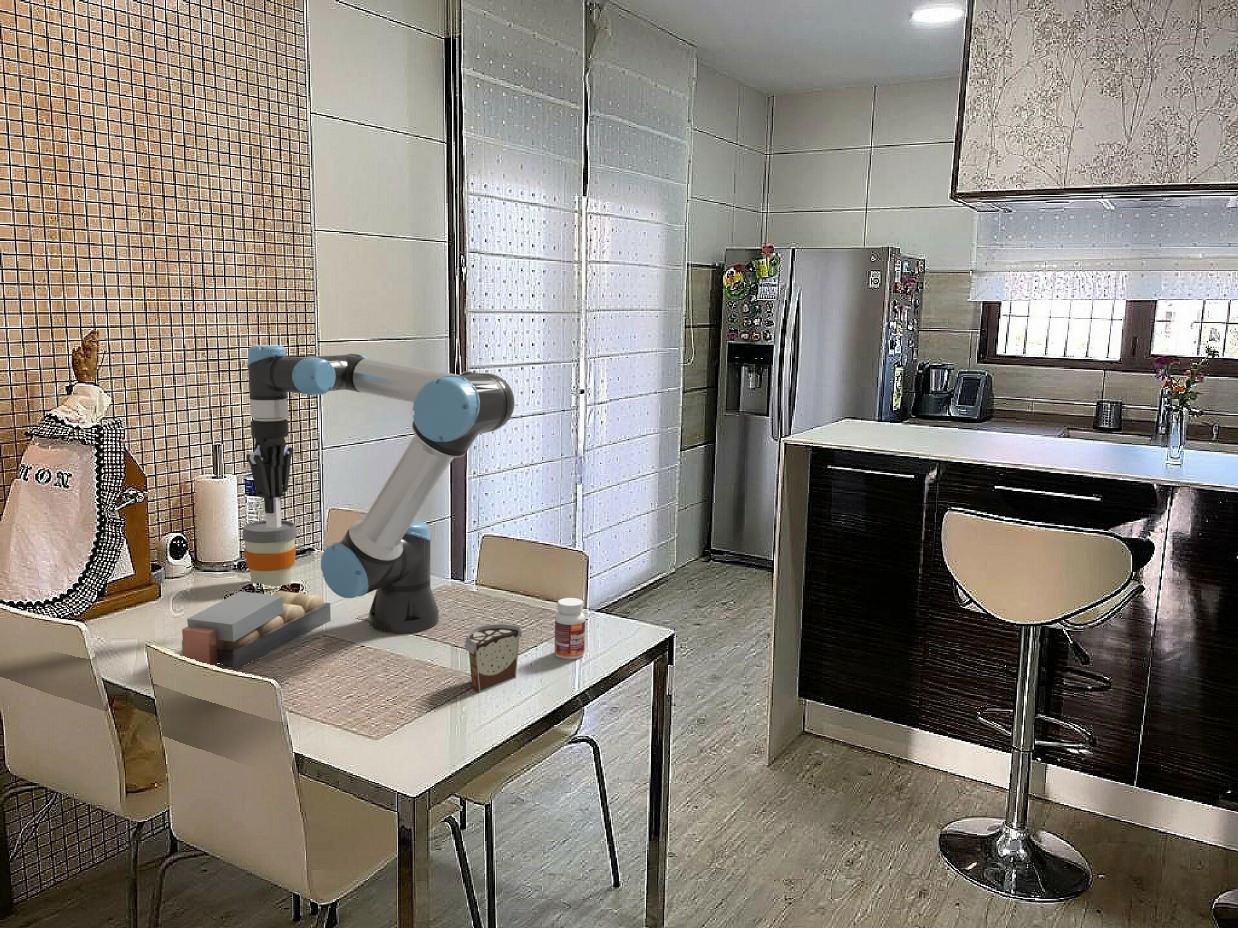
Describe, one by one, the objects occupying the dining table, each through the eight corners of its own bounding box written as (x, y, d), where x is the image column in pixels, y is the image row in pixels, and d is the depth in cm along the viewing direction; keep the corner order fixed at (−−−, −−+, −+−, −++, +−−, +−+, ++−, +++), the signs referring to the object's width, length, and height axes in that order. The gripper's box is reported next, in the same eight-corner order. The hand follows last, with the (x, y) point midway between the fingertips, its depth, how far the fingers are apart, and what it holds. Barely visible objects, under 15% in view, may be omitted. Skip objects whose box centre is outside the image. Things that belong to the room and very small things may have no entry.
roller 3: (325, 616, 207) (323, 591, 206) (309, 627, 202) (306, 602, 200) (287, 611, 210) (284, 586, 208) (270, 622, 204) (267, 596, 203)
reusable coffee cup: (297, 575, 239) (295, 518, 236) (299, 589, 227) (297, 530, 225) (244, 579, 234) (242, 521, 232) (244, 594, 223) (241, 533, 220)
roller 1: (264, 635, 187) (248, 624, 182) (252, 664, 184) (236, 653, 179) (225, 630, 190) (209, 619, 185) (213, 658, 187) (197, 648, 182)
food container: (499, 667, 183) (499, 618, 181) (521, 675, 179) (521, 626, 177) (450, 685, 173) (450, 634, 172) (473, 695, 170) (473, 643, 168)
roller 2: (285, 636, 194) (282, 610, 192) (267, 650, 189) (263, 623, 187) (245, 630, 197) (241, 605, 195) (226, 643, 191) (222, 617, 190)
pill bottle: (574, 662, 186) (575, 608, 184) (548, 656, 189) (549, 602, 187) (590, 653, 191) (591, 600, 189) (564, 646, 194) (565, 594, 192)
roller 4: (306, 626, 201) (303, 601, 199) (288, 638, 195) (286, 612, 193) (267, 621, 203) (264, 595, 202) (248, 632, 198) (245, 606, 196)
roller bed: (330, 620, 207) (329, 585, 205) (225, 676, 175) (223, 635, 174) (280, 613, 210) (279, 578, 209) (169, 666, 179) (167, 626, 177)
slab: (283, 612, 193) (282, 596, 192) (233, 641, 177) (232, 624, 177) (241, 607, 195) (240, 591, 194) (188, 635, 180) (187, 618, 179)
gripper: (273, 414, 205) (277, 519, 209) (233, 421, 192) (239, 532, 196) (303, 416, 203) (306, 521, 207) (264, 423, 190) (269, 535, 194)
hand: (273, 526), depth 201 cm, fingers closed
